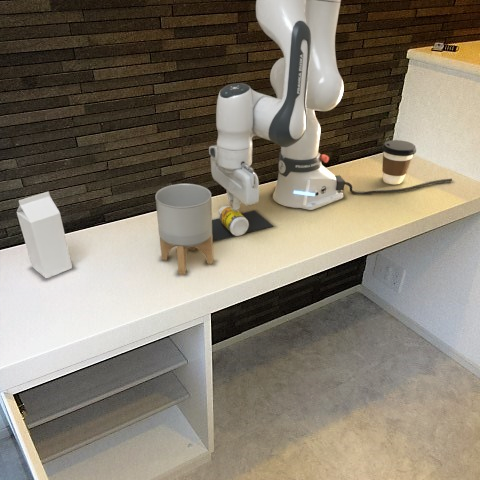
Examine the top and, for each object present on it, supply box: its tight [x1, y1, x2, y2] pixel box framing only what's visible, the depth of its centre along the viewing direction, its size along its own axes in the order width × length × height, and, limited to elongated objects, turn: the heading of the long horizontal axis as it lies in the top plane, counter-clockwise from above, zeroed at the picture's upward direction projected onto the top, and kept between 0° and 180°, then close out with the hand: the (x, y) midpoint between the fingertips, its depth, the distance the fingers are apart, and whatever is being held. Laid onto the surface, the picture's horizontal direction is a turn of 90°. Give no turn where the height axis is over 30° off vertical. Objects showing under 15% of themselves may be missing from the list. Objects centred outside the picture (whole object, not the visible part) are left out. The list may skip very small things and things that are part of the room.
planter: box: [154, 183, 214, 275], centre depth 121 cm, size 13×13×18 cm
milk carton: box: [16, 191, 73, 280], centre depth 117 cm, size 7×7×19 cm
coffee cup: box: [381, 139, 417, 185], centre depth 165 cm, size 11×11×12 cm
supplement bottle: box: [218, 205, 249, 237], centre depth 138 cm, size 6×6×10 cm
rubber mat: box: [212, 210, 274, 242], centre depth 142 cm, size 20×11×1 cm, turn 118°
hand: (234, 207), depth 133 cm, fingers closed
